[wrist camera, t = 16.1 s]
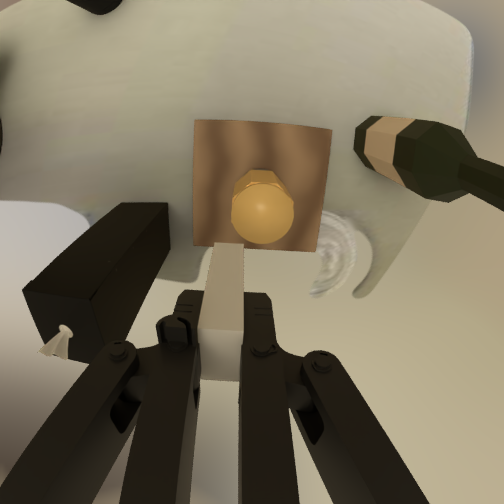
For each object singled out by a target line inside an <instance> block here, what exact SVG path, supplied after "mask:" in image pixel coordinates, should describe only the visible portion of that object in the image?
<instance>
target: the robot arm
mask: <svg viewBox="0 0 504 504" xmlns="http://www.w3.org/2000/svg"><path fill="white" fill-rule="evenodd" d="M1 145H2V127H1V121H0V151H1ZM243 283H244V244H235V243H214V248H213V253H212V257H211V262H210V267H209V272H208V277H207V281H206V286H205V291H199V290H184V291H183V292H182V293H181V294H180V295H179V296H178V299H177V302H176V305H175V308H174V312H173V315H168V316H165V317H163V318H162V319H160V320H159V321H158V322H157V324H156V330H157V336H158V341H159V344H157V345H154V346H151V347H146V348H139V349H136V348H135V346H134V345H133V344H132V343H130V342H129V341H125V340H115V341H112V342H110V343H108V344H107V345H105V346H104V347H103V348H102V349H101V351H100V352H99V353H98V354H97V356H96V357H95V358H94V359H93V360H92V362H91V363H90V364H89V365H88V367H87V368H86V369H85V371H84V372H83V373H82V374H81V375H80V377H79V378H78V379H77V381H76V382H75V383H74V384H73V386H72V387H71V388H70V390H69V391H68V392H67V393H66V395H65V396H64V397H63V399H62V400H61V401H60V403H59V404H58V405H57V407H56V408H55V409H54V410H53V412H52V413H51V414H50V416H49V417H48V418H47V420H46V421H45V423H44V424H43V425H42V427H41V428H40V429H39V431H38V432H37V434H36V435H35V436H34V438H33V439H32V441H31V442H30V443H29V445H28V446H27V448H26V449H25V450H24V452H23V453H22V455H21V456H20V458H19V459H18V461H17V462H16V464H15V465H14V467H13V468H12V470H11V471H10V473H9V474H8V476H7V477H6V479H5V480H4V482H3V484H2V485H1V487H0V504H92V502H93V500H94V499H95V497H96V495H97V493H98V492H99V489H100V488H101V486H102V484H103V482H104V481H105V479H106V477H107V475H108V473H109V472H110V470H111V468H112V466H113V464H114V462H115V461H116V459H117V457H118V455H119V454H120V452H121V450H122V448H123V446H124V445H125V443H126V441H127V439H128V438H129V436H130V434H131V432H132V431H133V429H134V427H135V425H136V427H135V431H134V436H133V440H132V444H131V448H130V453H129V457H128V462H127V466H126V471H125V476H124V481H123V486H122V491H121V496H120V502H119V504H190V492H191V479H192V467H193V457H194V445H195V436H196V426H197V417H198V408H199V399H200V377H201V379H204V380H218V381H239V382H240V384H239V399H238V400H239V401H238V404H239V443H238V444H239V445H238V448H239V450H238V504H300V503H299V494H298V485H297V475H296V466H295V458H294V449H293V441H292V432H291V424H290V416H289V408H290V409H291V412H292V414H293V417H294V419H295V421H296V423H297V426H298V428H299V430H300V432H301V435H302V437H303V439H304V441H305V443H306V446H307V448H308V450H309V452H310V454H311V457H312V459H313V461H314V463H315V465H316V467H317V470H318V472H319V474H320V476H321V478H322V480H323V482H324V485H325V487H326V489H327V491H328V493H329V495H330V497H331V499H332V502H333V504H429V502H428V500H427V499H426V497H425V495H424V494H423V492H422V491H421V489H420V487H419V486H418V484H417V482H416V481H415V479H414V478H413V476H412V474H411V473H410V471H409V469H408V468H407V466H406V465H405V463H404V461H403V460H402V458H401V457H400V455H399V453H398V452H397V450H396V449H395V447H394V446H393V444H392V442H391V441H390V439H389V437H388V436H387V434H386V433H385V431H384V430H383V428H382V426H381V425H380V423H379V422H378V420H377V418H376V417H375V415H374V414H373V412H372V411H371V409H370V407H369V406H368V404H367V403H366V401H365V400H364V398H363V397H362V395H361V393H360V392H359V390H358V389H357V387H356V386H355V384H354V383H353V381H352V379H351V378H350V376H349V375H348V373H347V372H346V370H345V369H344V367H343V366H342V364H341V362H340V361H339V360H338V358H336V356H335V355H333V354H331V353H329V352H326V351H322V350H320V351H319V350H318V351H312V352H310V353H308V354H307V355H306V356H305V357H301V356H296V355H293V354H290V353H288V352H286V351H284V350H283V349H282V348H281V347H280V346H279V345H278V343H277V340H276V333H275V326H274V318H273V311H272V303H271V299H270V298H269V297H268V296H267V294H266V293H253V292H244V284H243Z"/></svg>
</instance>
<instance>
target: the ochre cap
mask: <svg viewBox="0 0 504 504" xmlns="http://www.w3.org/2000/svg"><path fill="white" fill-rule="evenodd" d="M293 204H294V202H293V200H292V198H291V196H290V194H289V192H288V190H287V188H286V186H285V185H284V184H283V183H282V182H281V180H280V179H279V178H278V177H277V176H276V175H275V174H274V172H273V171H266V170H250V171H249V172H248V173H246V174H245V175H244V176H243V177H242V178H241V179H239V180H238V181H237V182H236V183H235V187H234V192H233V197H232V211H231V222H232V223H233V226H234V228H235V230H236V231H237V232H238V234H239V235H240V236H241V237H243V238H244V239H246V240H248V241H250V242H252V243H257V244H268V243H272V242H275V241H277V240H279V239H280V238H282V237H283V236H284V235H285V234H286V233H287V232H288V231H289V229H290V227H291V225H292V222H293V218H294V210H293Z"/></svg>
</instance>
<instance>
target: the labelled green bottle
mask: <svg viewBox="0 0 504 504" xmlns="http://www.w3.org/2000/svg"><path fill="white" fill-rule="evenodd" d="M354 151H355V152H356V154H357V155H358V156H359V158H360V159H361V161H362V162H363V163H364V165H365V166H366V167H368V168H370V169H372V170H374V171H376V172H378V173H380V174H382V175H384V176H386V177H388V178H389V179H391V180H393V181H395V182H397V183H399V184H401V185H402V186H404V187H406V188H408V189H410V190H411V191H413V192H415V193H417V194H418V195H420V196H422V197H424V198H425V199H431V200H436V201H442V202H448V203H449V202H451V201H453V200H455V199H458V198H460V197H462V196H464V195H466V194H468V193H470V194H472V195H474V196H476V197H478V198H480V199H482V200H484V201H485V202H487V203H489V204H491V205H493V206H495V207H496V208H498V209H500V210H502V211H504V167H503V166H500V165H498V164H495V163H492V162H490V161H487V160H484V159H481V158H478V157H477V156H476V154H475V152H474V151H473V149H472V147H471V146H470V144H469V142H468V141H467V139H466V138H465V136H464V135H463V133H462V131H461V130H459V129H456V128H454V127H451V126H448V125H445V124H442V123H439V122H435V121H427V120H418V119H408V118H397V117H383V116H370V117H369V118H368V119H367V120H365V121H364V122H363V123H361V124H360V125H359V126H358V127H356V130H355V140H354Z"/></svg>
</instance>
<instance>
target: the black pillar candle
mask: <svg viewBox="0 0 504 504" xmlns="http://www.w3.org/2000/svg"><path fill="white" fill-rule="evenodd" d="M169 251H170V236H169V219H168V203H120V204H119V205H118V206H116V207H115V208H114V209H112V210H111V211H110V212H109V213H107V214H106V215H105V216H104V217H102V218H101V219H100V220H99V221H98V222H96V223H95V224H94V225H93V226H92V227H90V228H89V229H88V230H87V231H86V232H84V234H82V235H81V236H80V237H79V238H78V239H77V240H75V241H74V242H73V243H72V244H71V245H70V246H68V248H66V249H65V250H64V251H63V252H62V253H61V254H60V255H59V256H57V257H56V258H55V259H54V260H53V261H52V262H51V263H50V264H49V265H48V266H47V267H46V268H45V269H44V270H43V271H42V272H41V273H40V274H39V275H38V276H37V277H36V278H35V279H34V280H33V281H32V280H31V281H30V282H29V283H28V284H27V285H26V286H25V287H24V288H23V289H22V292H23V294H24V297H25V300H26V302H27V305H28V308H29V310H30V312H31V315H32V317H33V320H34V322H35V324H36V327H37V329H38V331H39V333H40V336H41V338H42V340H43V342H44V344H45V345H44V346H43V347H42V348H41V349H40V350H39V352H41V353H43V354H44V355H46V356H51V355H54V356H58V357H60V358H62V359H65V360H67V359H70V360H74V361H79V362H83V363H87V364H90V363H91V362H92V360H93V359H94V358H95V357H96V356H97V354H98V353H99V352H100V351H101V349H102V348H103V347H104V346H105V345H107V344H108V343H110V342H112V341H115V340H126V337H127V335H128V333H129V331H130V329H131V326H132V325H133V322H134V320H135V318H136V316H137V314H138V312H139V310H140V307H141V306H142V304H143V302H144V299H145V297H146V295H147V293H148V291H149V290H150V288H151V286H152V283H153V282H154V279H155V278H156V276H157V274H158V272H159V270H160V268H161V266H162V264H163V262H164V260H165V259H166V257H167V255H168V253H169Z"/></svg>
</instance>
